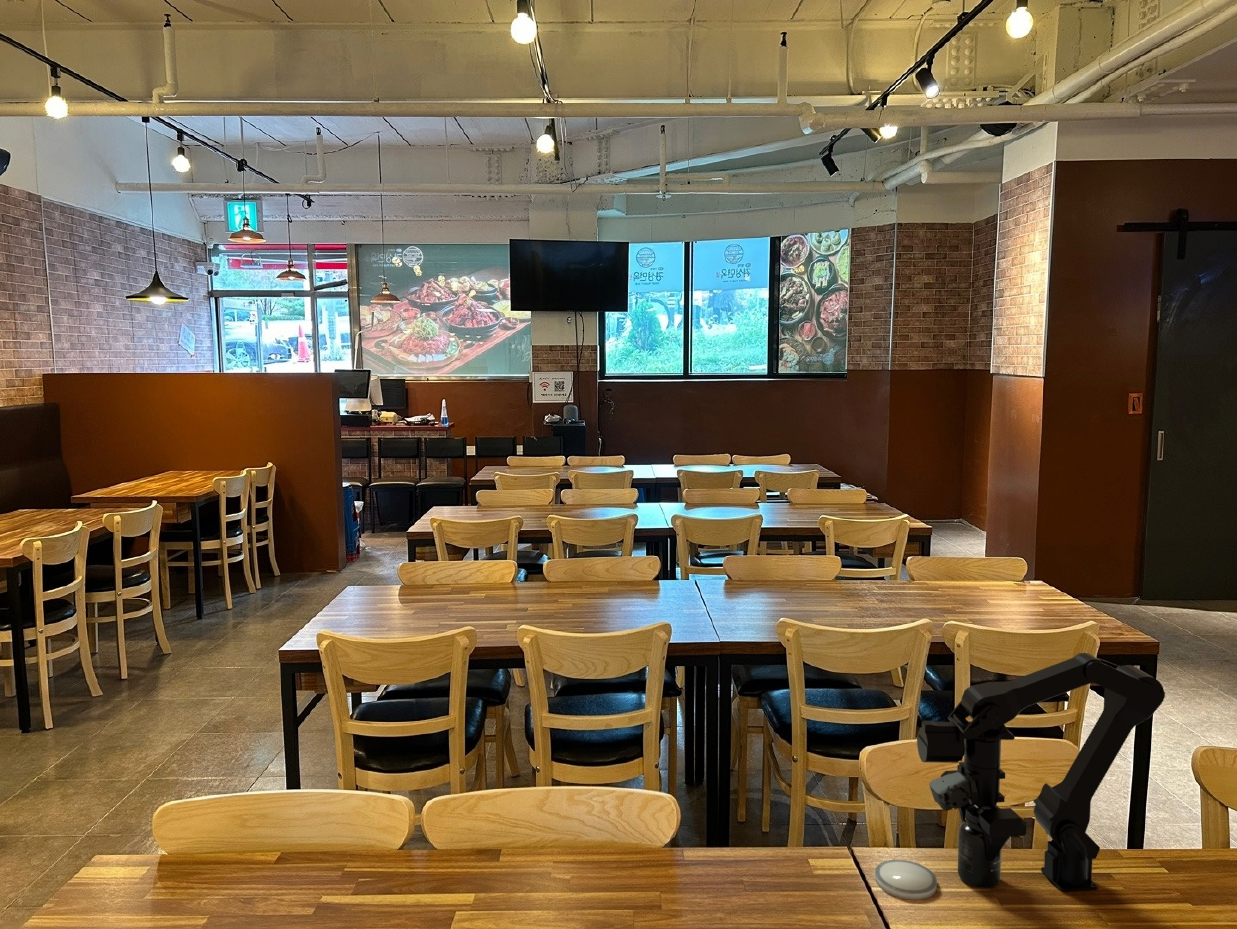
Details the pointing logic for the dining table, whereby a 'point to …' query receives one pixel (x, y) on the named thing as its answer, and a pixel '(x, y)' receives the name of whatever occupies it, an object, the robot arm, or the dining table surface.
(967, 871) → the supplement bottle
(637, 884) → the dining table surface
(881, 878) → the dish
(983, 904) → the dining table surface
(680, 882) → the dining table surface
